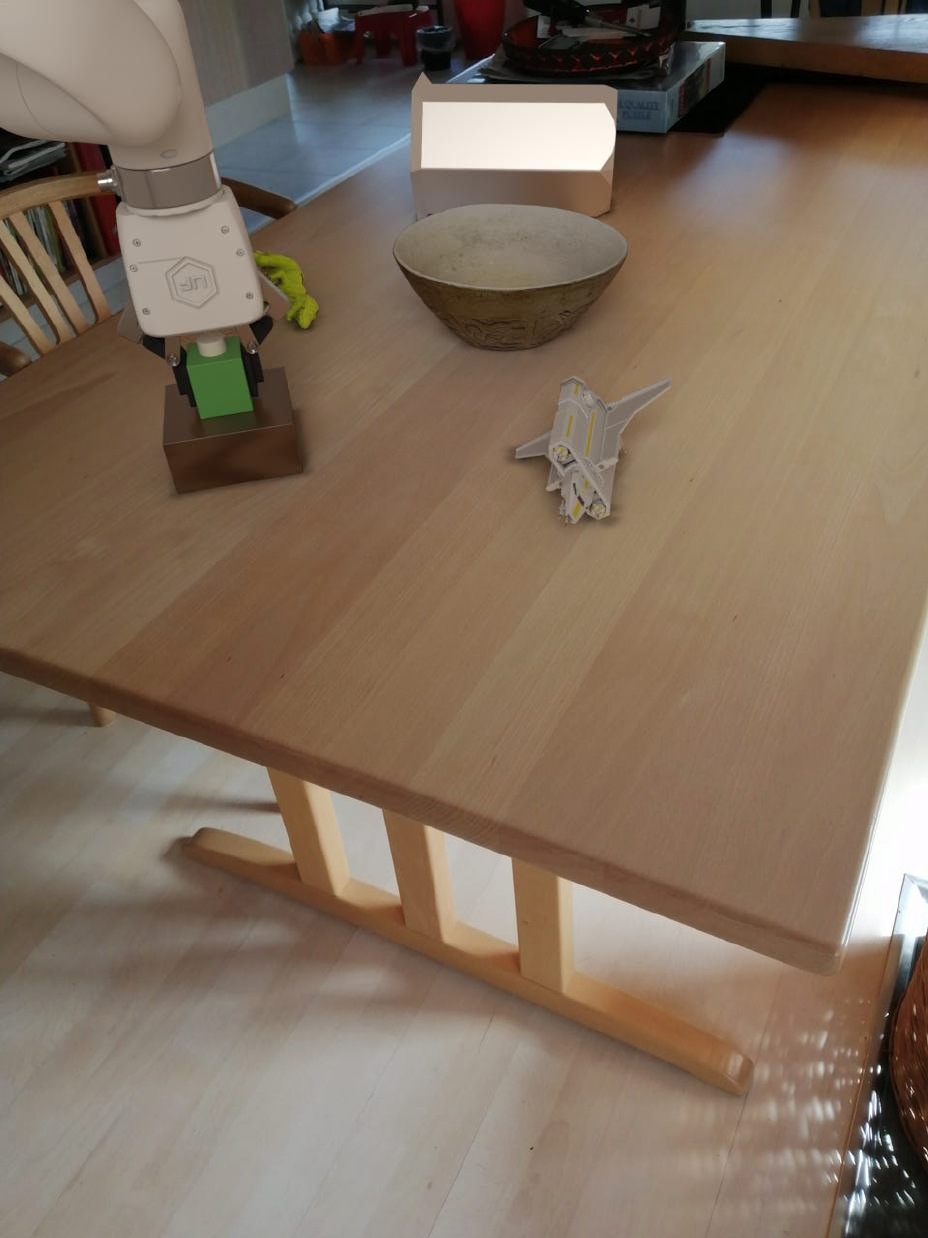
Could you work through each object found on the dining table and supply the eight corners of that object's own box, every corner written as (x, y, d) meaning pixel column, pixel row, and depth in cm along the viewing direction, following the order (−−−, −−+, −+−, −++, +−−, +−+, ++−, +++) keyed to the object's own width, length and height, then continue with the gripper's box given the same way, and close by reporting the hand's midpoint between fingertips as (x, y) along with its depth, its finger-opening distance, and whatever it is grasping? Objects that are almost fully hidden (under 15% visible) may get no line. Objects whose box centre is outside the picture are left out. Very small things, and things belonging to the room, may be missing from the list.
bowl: (639, 288, 113) (643, 196, 106) (606, 389, 96) (608, 288, 89) (439, 280, 119) (431, 193, 112) (374, 375, 102) (361, 278, 95)
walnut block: (177, 494, 87) (162, 444, 84) (179, 432, 96) (165, 384, 92) (302, 472, 88) (292, 423, 85) (293, 413, 97) (284, 365, 93)
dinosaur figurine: (190, 290, 122) (177, 239, 118) (265, 267, 126) (255, 216, 122) (264, 344, 109) (252, 288, 105) (345, 316, 113) (337, 262, 109)
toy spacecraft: (541, 479, 91) (694, 411, 84) (517, 587, 80) (691, 520, 73) (493, 410, 87) (650, 333, 80) (462, 514, 76) (640, 436, 69)
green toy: (200, 419, 87) (182, 353, 83) (200, 394, 90) (183, 330, 86) (253, 410, 87) (238, 344, 83) (251, 386, 91) (236, 321, 87)
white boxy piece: (422, 249, 137) (404, 143, 119) (433, 154, 142) (418, 39, 125) (606, 252, 135) (616, 145, 117) (610, 156, 140) (620, 39, 122)
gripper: (51, 212, 73) (125, 431, 85) (283, 179, 74) (324, 399, 86) (61, 180, 78) (129, 390, 90) (277, 150, 80) (316, 361, 92)
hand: (224, 392), depth 88 cm, fingers closed on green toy, 4 cm apart
